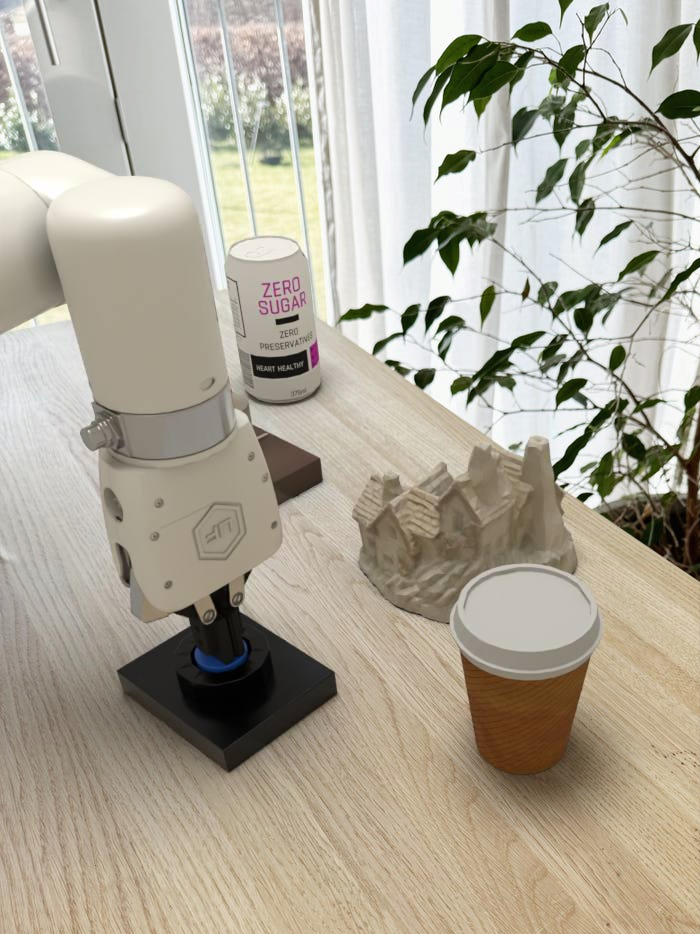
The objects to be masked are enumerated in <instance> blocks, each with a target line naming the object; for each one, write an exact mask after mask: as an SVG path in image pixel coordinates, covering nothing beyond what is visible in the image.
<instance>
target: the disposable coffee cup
mask: <svg viewBox="0 0 700 934" xmlns="http://www.w3.org/2000/svg"><path fill="white" fill-rule="evenodd" d="M596 600H597V599H596V598H595V596H594V594H593V591H592V590H591V589H590V588H589V587H588V586H587V584H585V582H584V581H582V580H581V579H580V578H578V577H576V576H575V575H573V574H569V573H567V572H564V571H561V570H559V569H556V568H554V567H550V566H545V565H539V564H529V563H527V564H511V565H504V566H500V567H496V568H493V569H490V570H488V571H485V572H483V573H481V574H479V575H478V576H476V577H475V578H473V579H472V580H470V582H469V583H468V584H467V585H466V586H465V587H464V588H463V589H462V591H461V594H460V596H459V599H458V601H457V602H456V603H455V605H454V607H453V609H452V612H451V614H450V622H449V629H450V633H451V637H452V640H453V641H454V642H455V645H456V646H457V648H458V650H459V654H460V660H461V665H462V672H463V676H464V683H465V688H466V693H467V699H468V705H469V711H470V716H471V722H472V727H473V732H474V739H475V744H476V745H475V746H476V748H477V750H478V752H479V754H480V756H481V757H482V758H483V759H484V760H485V762H487V763H488V764H489V765H491V767H494V768H496V769H498V770H500V771H502V772H506V773H509V774H515V775H516V774H517V775H529V774H537V773H540V772H543V771H546V770H548V769H550V768H552V767H553V766H555V765H556V764H557V763H558V762H559V761H560V760H562V758H563V756H564V754H565V752H566V750H567V747H568V742H569V738H570V734H571V731H572V728H573V724H574V720H575V717H576V713H577V710H578V707H579V706H578V705H579V702H580V699H581V694H582V691H583V687H584V683H585V679H586V676H587V673H588V669H589V665H590V661H591V657H592V654H593V653H594V652H595V651H596V649H597V647H598V646H599V645H600V643H601V640H602V637H603V634H604V633H603V632H604V626H605V623H604V618H603V614H602V612H601V609H600V608H599V606H598V604H597V601H596Z"/></svg>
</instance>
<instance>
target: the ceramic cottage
mask: <svg viewBox="0 0 700 934" xmlns="http://www.w3.org/2000/svg"><path fill="white" fill-rule="evenodd" d="M524 447H525V448H524V451H523V452H524V453H523V456H522V455H520V454H518V453H514V452H510V451H506V450H504V449H502V448H499V447H497V446H495V445H492V444H491V443H489V442H487V441H481V440H479V441H476V442H475V444H474V446H473V449H472V451H471V454H470V457H469V458H468V464H467V470H466V471H465V472H464V473H462V474H459V475H457V476H456V477H455V478H454V477H453V476H452V474H451V473H450V472H449V471H448V464H447V463H445V462H444V461H440V462H438V464H437V465H435V467H434V468H432V469H431V470H430V472H429V473H428V474H427V475H425V476H423V478H422V479H421V480H419V481H418V482H416V483H415V484H413V486H412V487H411V486H406V485H402V483H401V481H400V475H399V474H397V473H396V472H394V471H392V470H390V469H389V470H385V471H384V473H383V475H381V473H379V472H374V473H370V478H369V479H368V480H367V482H366V483H365V488H364V489H363V490H362V492H361V494H360V495H359V496H358V499H357V501H356V503H355V505H354V506H353V508H352V513H351V518H352V519H353V520H354V521H355V523H357V524H358V529H359V534H360V539H361V543H362V545H361V547H360V548H359V558H358V565H359V568H360V570H362V573H363V574H365V575H366V577H367V578H368V580H369V582H371V584H373V585H374V586H375V587H376V588H377V590H379V593H380V594H381V595H382V596H383V598H384V599H385V600H388V601H389V603H391V604H392V605H394V606H396V607H399V608H401V609H403V610H405V611H408V612H409V613H412V612H413V613H415V614H417V615H419V614H420V615H421V616H422V617H423V619H424V618H427V619H429V620H433V621H436V622H439V623H442V624H444V623H450V614H451V612H452V609H453V607H454V605H455V603H456V602H457V601H458V599H459V596H460V594H461V591H462V589H463V588H464V587H465V586H466V585H467V584H468V583H469V582H470V580H472V579H473V578H475V577H476V576H478V575H479V574H481V573H483V572H485V571H488V570H490V569H493V568H496V567H500V566H504V565H511V564H527V563H529V564H539V565H545V566H550V567H554V568H556V569H559V570H561V571H564V572H567V573H569V574H571V575H573V573H574V572H575V571H576V568H577V563H578V562H579V560H578V556H577V552H576V546H575V543H574V540H573V538H572V534H571V531H570V530H569V529H568V528H567V527H566V526H565V524H564V519H563V516H564V514H565V510H564V509H563V508H562V501H563V499H564V498H565V496H566V495H567V494H568V492H566V491H564V489H562V488H560V486H559V484H558V483H557V482H555V473H554V468H553V464H552V460H551V448H550V447H551V446H550V440H549V439H548V438H546V437H544V436H541V435H532V436H530V437H529V439H528V440H527V442H526V444H525V446H524Z"/></svg>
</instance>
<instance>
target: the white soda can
mask: <svg viewBox="0 0 700 934" xmlns="http://www.w3.org/2000/svg"><path fill="white" fill-rule="evenodd" d="M223 269H224V274H225V281H226V287H227V292H228V298H229V304H230V305H229V306H230V310H231V311H230V312H231V316H232V321H233V327H234V335H235V339H236V345H237V351H238V357H239V363H240V364H239V365H240V370H241V375H242V382H243V386H244V388H245V391H246V392H247V393H248V394H250V395H252V396H253V397H255V399H257V400H258V401H262V402H265V403H269V404H288V403H294V402H297V401H298V402H299V401H301V400H303V399H306V398H309V397H310V396H311V395H312V394H313V393H314V392H315V391H316V390H317V388H318V387H319V386H320V385H321V382H322V371H321V361H320V354H319V345H318V337H317V336H318V335H317V327H316V319H315V318H316V317H315V309H314V300H313V292H312V291H313V290H312V282H311V274H310V273H311V272H310V264H309V260H308V257H307V256H306V255H305V253H304V251H303V250H302V248H301V244H300V243H299V241H297V240H296V239H294V238H292V237H288V236H284V235H275V234H274V235H273V234H265V235H254V236H250V237H245V238H242V239H239V240H236V241H235V242H233V243H231V244H230V245H229V246H228V249H227V256H226V258H225V260H224V264H223Z"/></svg>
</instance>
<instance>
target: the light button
mask: <svg viewBox="0 0 700 934" xmlns="http://www.w3.org/2000/svg"><path fill="white" fill-rule="evenodd" d="M243 642H244V647H245V653H244V654H243V655H241V656H240V657H237V656H236V657H234V658H233V661H232V662H230V663H229V664H227V665H225V664H224V663H222V662H221V661H219V660H218V659H216V658H215V657H213V656H212V655H211V654H210V655H205V654H204V653H202V652H201V651H200V650H199V649H198V648H196V650H195V660H196V664H197V668H199V669H200V670H202V671H205V672H213V673H220V672H224V671H229V670H233V669H235V668H237V667H238V666H240V665H241V664H243V663H244V662H246V661H247V659H248V657H249V654H248V649H247V645H246V643H245V641H244V640H243Z"/></svg>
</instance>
